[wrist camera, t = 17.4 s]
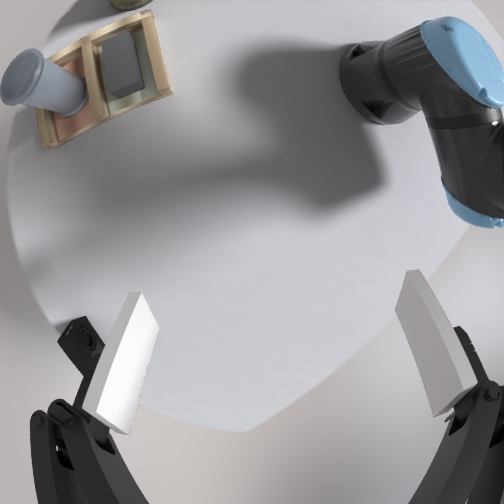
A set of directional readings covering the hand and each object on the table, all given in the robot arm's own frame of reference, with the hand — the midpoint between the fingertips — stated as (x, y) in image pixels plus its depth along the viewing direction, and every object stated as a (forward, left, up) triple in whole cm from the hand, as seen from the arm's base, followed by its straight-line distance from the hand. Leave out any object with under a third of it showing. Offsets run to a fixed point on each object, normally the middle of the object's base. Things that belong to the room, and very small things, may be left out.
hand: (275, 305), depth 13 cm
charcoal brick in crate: (+9, -25, -27) cm, 38 cm away
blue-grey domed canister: (+19, -25, -27) cm, 41 cm away
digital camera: (+33, +16, -28) cm, 46 cm away
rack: (+14, -25, -28) cm, 40 cm away
